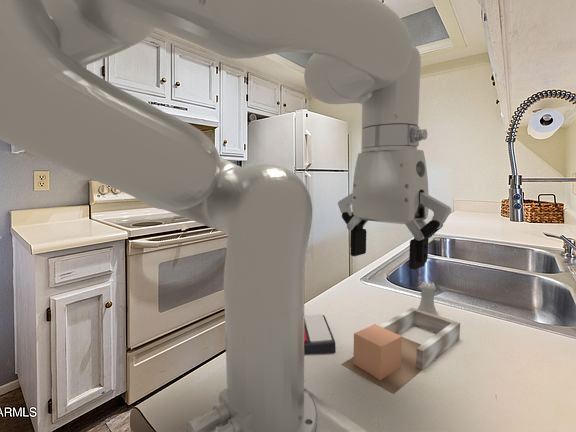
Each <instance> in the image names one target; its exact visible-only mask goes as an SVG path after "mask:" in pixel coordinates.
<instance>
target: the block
mask: <svg viewBox="0 0 576 432" xmlns="http://www.w3.org/2000/svg"><path fill="white" fill-rule="evenodd" d="M402 337H403V336H402V335H401V334H399V335H398V334H396V333H393V332H391V331H389V330H387V329H384V328H382V327H380V326H379V325H377V324H371V325H369V326H368V327H365V328H363V329H360V330H358V331H356V332H353V356H352V357H353V364H355V365H356V366H358V367H359V368H361V369H363V370H364V371H366V372H368V373H369V374H371V375H373V376H374V377H376V378H378V379H379V380H381V379H383V378H384V377H386V376H388V375H389V374H391V373H392V372H394V371H396V370H397V369H399V368H401V346H402Z"/></svg>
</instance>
